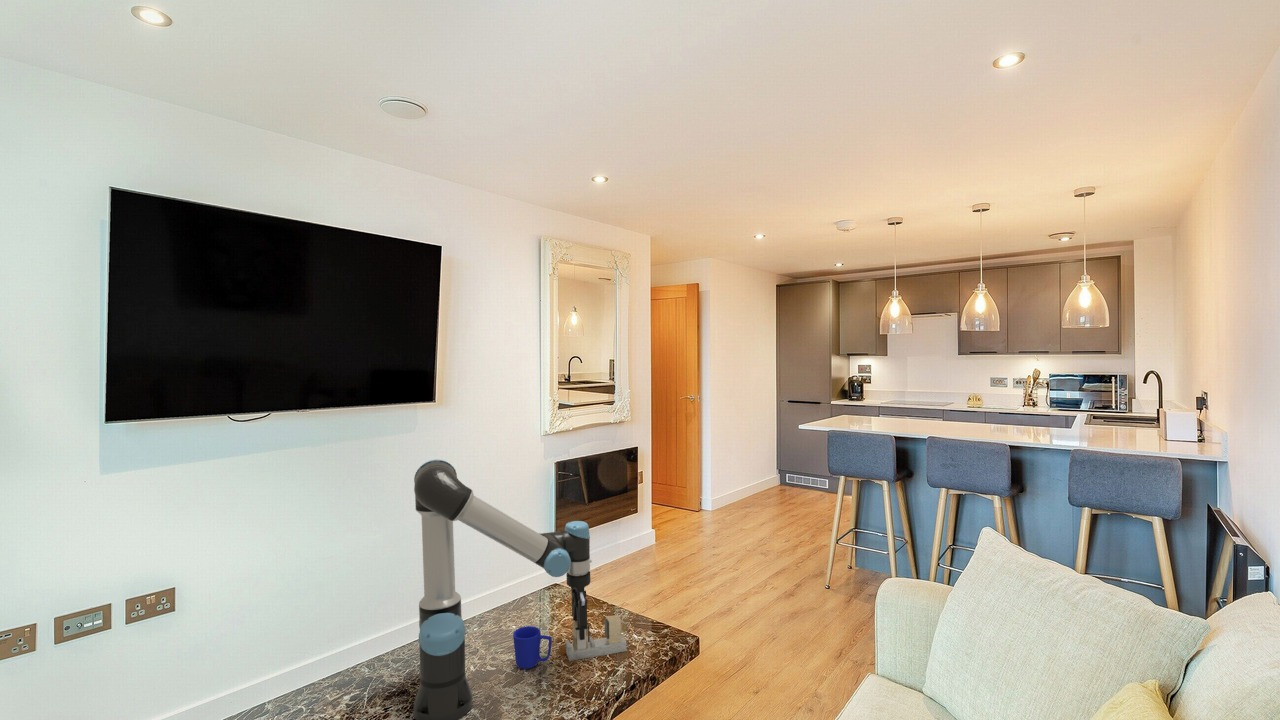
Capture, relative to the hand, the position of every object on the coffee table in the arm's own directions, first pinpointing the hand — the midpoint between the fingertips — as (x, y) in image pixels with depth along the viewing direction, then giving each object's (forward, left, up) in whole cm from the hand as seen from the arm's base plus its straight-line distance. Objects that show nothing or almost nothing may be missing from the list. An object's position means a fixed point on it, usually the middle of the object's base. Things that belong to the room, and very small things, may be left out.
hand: (580, 644), depth 185 cm
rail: (+5, 0, -3) cm, 6 cm away
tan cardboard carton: (0, 0, 0) cm, 0 cm away
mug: (-15, -1, -4) cm, 15 cm away
